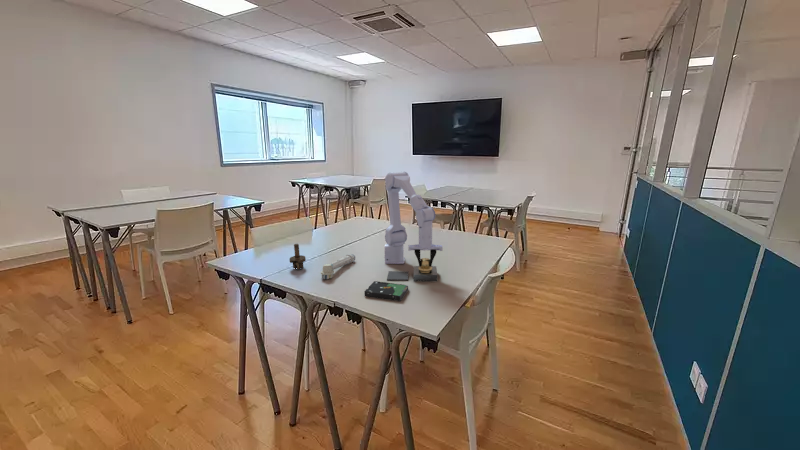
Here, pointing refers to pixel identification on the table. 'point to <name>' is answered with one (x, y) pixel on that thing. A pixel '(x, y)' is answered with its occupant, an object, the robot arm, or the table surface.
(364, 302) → the table surface
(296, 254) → the industrial component
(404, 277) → the mat
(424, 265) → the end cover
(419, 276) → the housing
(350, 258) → the toothbrush head
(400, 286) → the disk drive
